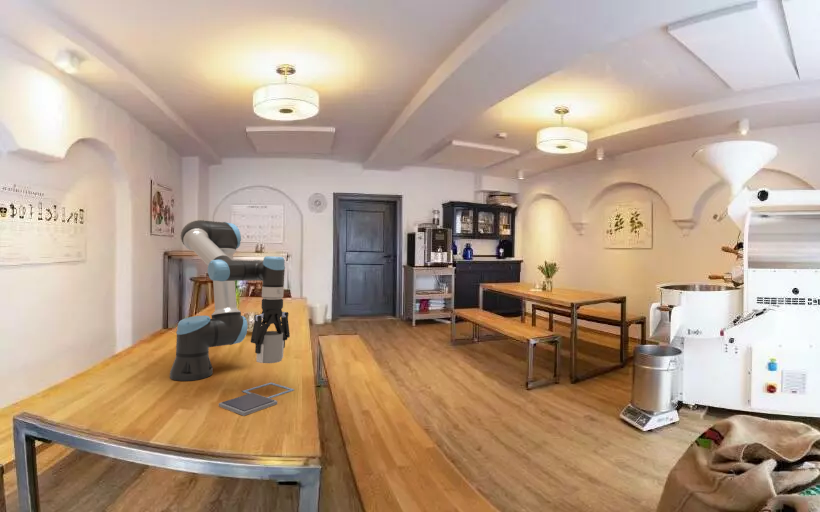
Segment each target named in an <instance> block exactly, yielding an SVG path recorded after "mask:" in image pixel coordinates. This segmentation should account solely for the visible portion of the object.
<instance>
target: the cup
mask: <svg viewBox="0 0 820 512" xmlns="http://www.w3.org/2000/svg"><path fill="white" fill-rule="evenodd" d="M262 344H264V352H263V363H262V364H275V363H280V362H282V360H283V358H282V345H283V332H282V333H281V334H279V333H277V330H267V332H266V334H265V335H264V339H263V342H262Z"/></svg>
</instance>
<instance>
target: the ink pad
mask: <svg viewBox="0 0 820 512" xmlns="http://www.w3.org/2000/svg"><path fill="white" fill-rule="evenodd" d="M267 397H268V396H264V395H261V394H258V393H255V392H251V393H250V394H247V393H246V394H244V395H241V396H238V397H235V398H231V399H228V400H224V401H222V402H219V403H218V407H219V408H221V409H225V410H227V411H230V412H232V413H235V414H238V415H240V416H243V417H245V416H247V415H250V414H253V413H256V412H259V411H261V410H265V409H267V408H270V407H272V406H276V405H278V400H275V399H273V398H267Z"/></svg>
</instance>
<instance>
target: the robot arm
mask: <svg viewBox="0 0 820 512" xmlns="http://www.w3.org/2000/svg"><path fill="white" fill-rule="evenodd" d="M241 235H242V234H241V231H240V229H239V227H238V226H237V225H236V224H234V223H231V222H228V221H227V222H226V221H213V220H204V219H203V220H202V219H197V220H193V221H191V222H188V223H187V224H186V225H184V227H183V228H182V229H181V232H180V240H181V242H182V244H183V245H184V246H185V248H186V249H188V250H190V251H193V252H194V253H195V254H196V256H198V257H199V258H200V260H202V261H203V262H204V263H205V265H206V266H207V274H208V278H209V279H210V280H211V281H212V282H213V283H212V284H213V296H214V301H213V302H214V311H213V313H212V314H210V315H211V317H210V316H209V315H195V316H194V315H193V316H189V317H185V318H183V319H181V320H179V322H178V323H177V327H176V328H177V329H176V341H175V343H176V344H175V358H174V361H173V363H172V366H171V369H170V372H169V379H171V380H172V381H173V380H174V381H180V382H188V381H189V382H190V381H198V380H202V379H206V378H208V377H210V376H212V375H213V369H214V368H213V365H212V362H211V360H210V356H209V355H210V353H209V350H210V348H213V347H214V348H215V347H221V346H222V347H223V346H229V345H230V346H232V345H235V344H236V345H237V344H240V343H242V342H243V340H244V339H245V338H246V335H247V334H248V321H247V318H246V317H245V316H244V315H242V311H241V310H240V309H238V306H237V305H238V304H237V294H236V281H237V282H238V281H246V282H247V281H261V282H262V288H261V297H262V299H261V306H260V307H261V311H262V312H261V313H260V314H255V315H254V316H253V318H254V319H253V320H254V323H253V328H252V332H251V336H250V343H251V344H254V345H255V349H254V351H255V352H254V353H255V354H256V358H255V359H256V362H257V363H260V364H264V363H263V352H264V344H262V342H263V339H264V335H265V334H266V332H267V331H268V330H269V328H270V327H271V325H274V327H275V331H277V333H279V334H281V333H282V332H283V345H282V359H284V349H285V347H286V341H288V338H291V337H290V336H291V335H290V325H289V315H290V314H289V312H288V311H283V308H284V299H283V298H284V293H285V291H284V286H285V273H286V270H285V269H286V267H285V266H286V265H285V263H286V261H285V258H284V257H283V256H275V255H274V256H267V255H266V256H264V257H263V260H257V259H256V260H255V259H254V260H241V259H237V260H235V259H234V254H235V253H236V252H237V249H238V248H239V247H240V246H241V242H242V236H241Z"/></svg>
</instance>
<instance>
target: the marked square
mask: <svg viewBox="0 0 820 512" xmlns="http://www.w3.org/2000/svg"><path fill="white" fill-rule="evenodd" d="M266 386H267V387H268V386H276V387H278V388H281V389H285V390H284V391H282V392H280V393H276V394H273V395H270V396H266V397H267V398H270V399H273V398H276V397H278V396H279V397H280V396H281V395H285V394H287V393H290V392H294V391H295V388H290V387H288V386H285V385H281V384H277V383H274V382H267V383H264V384H262V385H257V386H255V387H251V388H248V389H244V390H241V392H242V393H243V394H244V393H245V394H246V395H247V394H250V393H252V392H251V391H254V390H257V389H260V388H264V387H266Z"/></svg>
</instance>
